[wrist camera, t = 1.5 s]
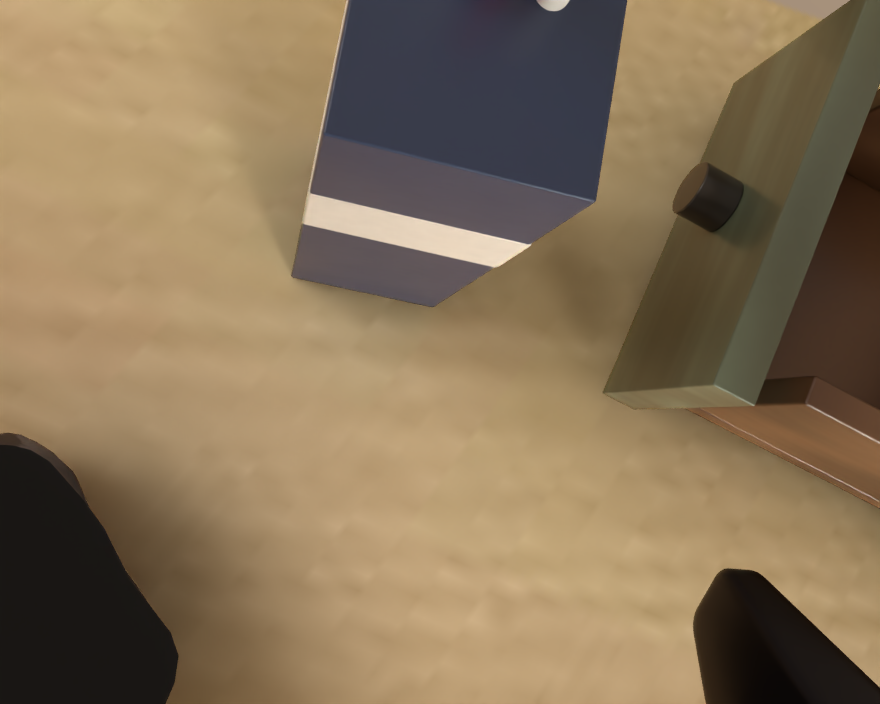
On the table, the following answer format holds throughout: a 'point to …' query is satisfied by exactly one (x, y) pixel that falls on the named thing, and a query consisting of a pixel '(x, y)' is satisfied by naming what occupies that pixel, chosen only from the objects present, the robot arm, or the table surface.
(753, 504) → the table surface
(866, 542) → the table surface
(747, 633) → the robot arm
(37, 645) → the black sponge
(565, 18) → the straw box
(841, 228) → the drawer
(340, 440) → the table surface
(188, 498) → the table surface
